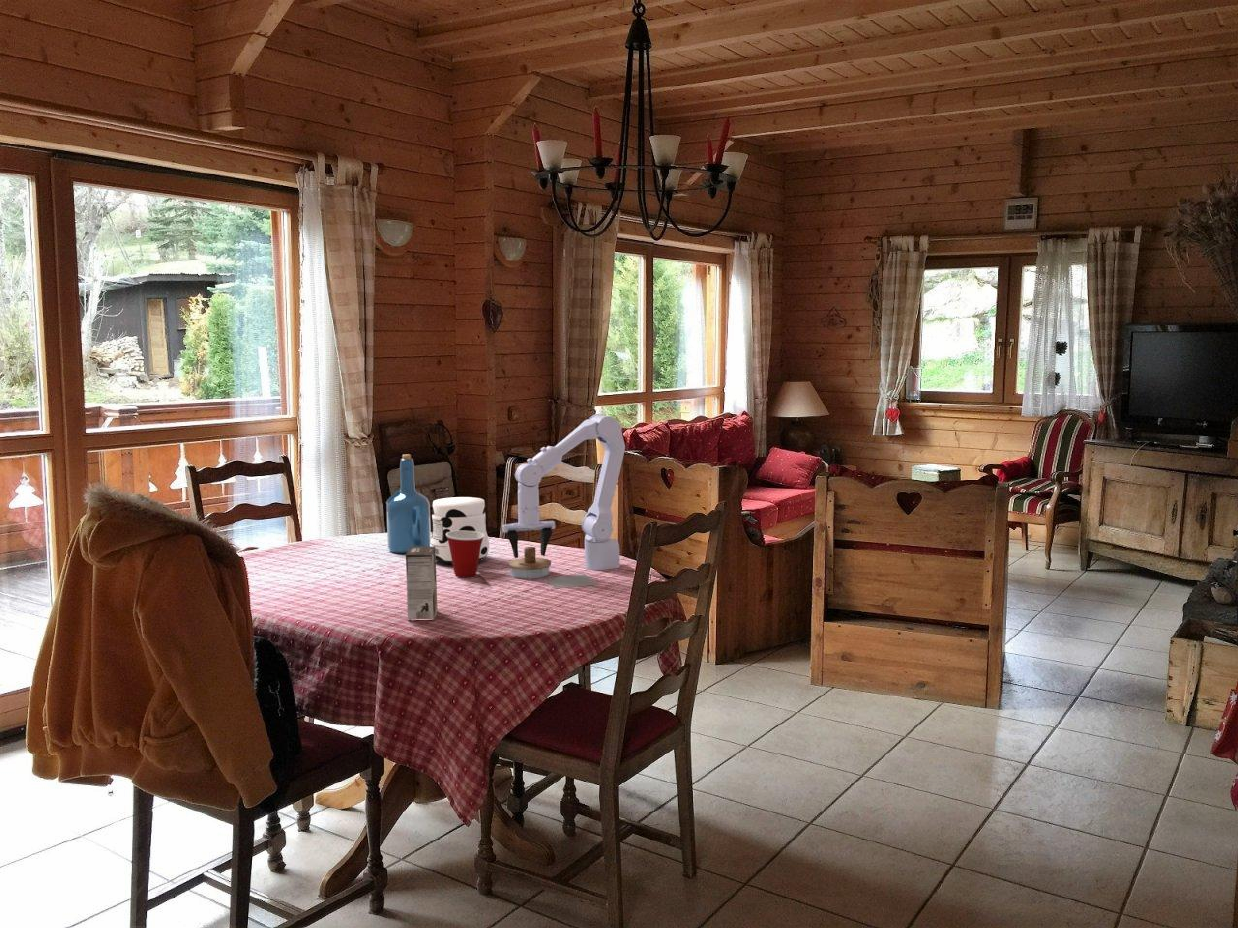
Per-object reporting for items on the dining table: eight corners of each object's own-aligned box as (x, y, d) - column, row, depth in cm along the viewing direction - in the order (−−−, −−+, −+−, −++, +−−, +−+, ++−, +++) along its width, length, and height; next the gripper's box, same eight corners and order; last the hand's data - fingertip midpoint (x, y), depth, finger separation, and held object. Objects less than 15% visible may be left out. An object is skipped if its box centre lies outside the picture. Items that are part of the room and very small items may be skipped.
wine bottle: (437, 546, 324) (435, 452, 320) (420, 555, 311) (417, 457, 307) (398, 544, 327) (394, 451, 323) (379, 553, 314) (375, 456, 310)
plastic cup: (478, 580, 279) (477, 537, 277) (440, 579, 281) (439, 536, 279) (491, 571, 289) (490, 530, 288) (455, 570, 292) (453, 528, 290)
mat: (585, 577, 281) (585, 574, 281) (599, 587, 270) (599, 584, 270) (543, 581, 277) (543, 578, 277) (555, 592, 266) (555, 588, 266)
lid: (543, 558, 289) (542, 542, 289) (557, 567, 279) (556, 550, 278) (503, 562, 285) (503, 545, 284) (516, 571, 274) (516, 553, 274)
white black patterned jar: (496, 555, 310) (495, 497, 308) (479, 568, 294) (477, 506, 291) (442, 553, 314) (440, 495, 311) (421, 566, 297) (420, 505, 294)
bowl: (542, 571, 289) (542, 559, 288) (552, 579, 280) (552, 566, 279) (507, 574, 286) (507, 562, 285) (516, 582, 276) (516, 570, 276)
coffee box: (411, 611, 249) (409, 546, 247) (438, 610, 249) (436, 545, 247) (407, 621, 240) (404, 554, 238) (434, 620, 240) (432, 553, 238)
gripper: (506, 511, 274) (507, 561, 276) (558, 508, 279) (558, 556, 281) (500, 507, 281) (501, 555, 282) (550, 504, 285) (551, 551, 287)
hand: (529, 556), depth 282 cm, fingers open, 7 cm apart
